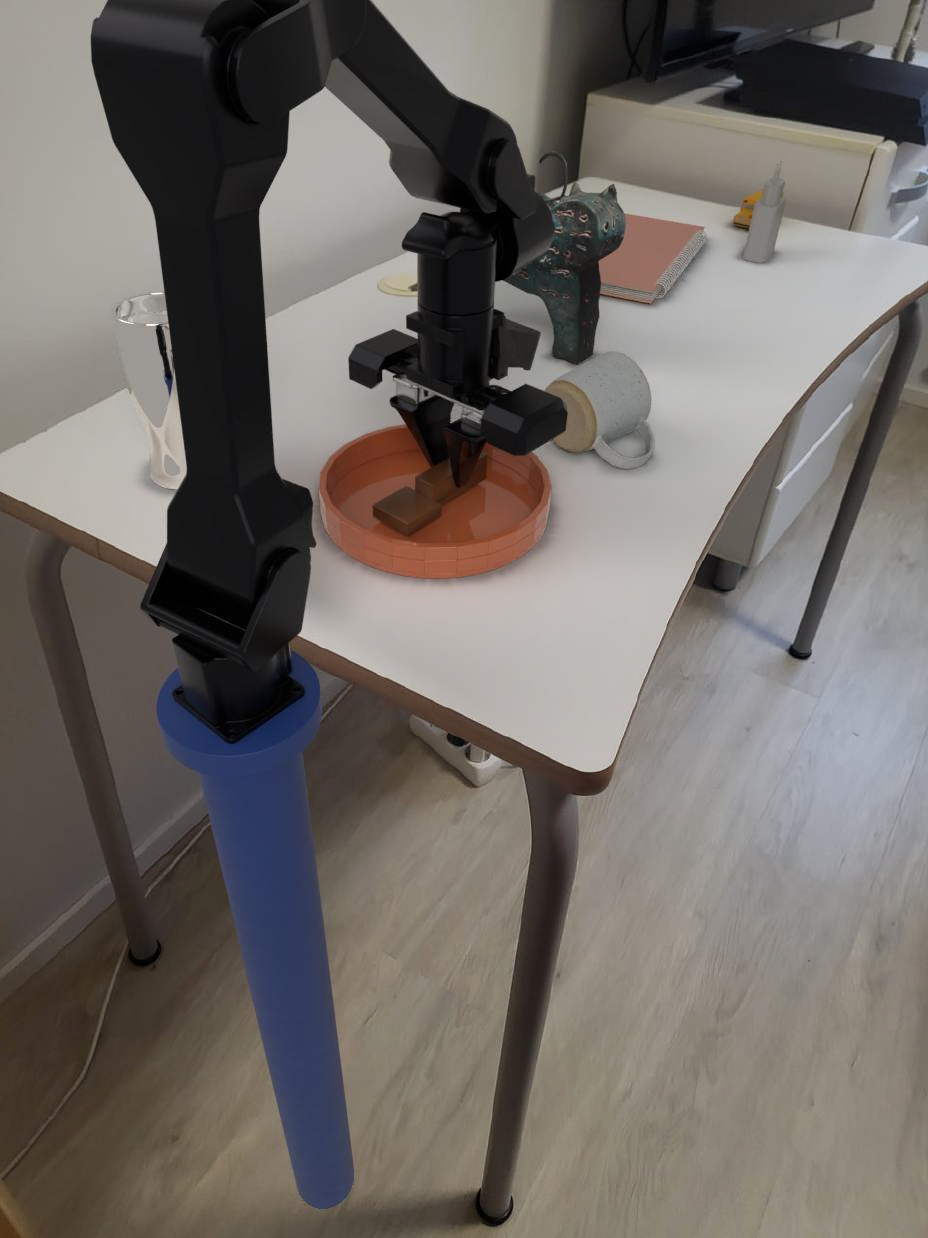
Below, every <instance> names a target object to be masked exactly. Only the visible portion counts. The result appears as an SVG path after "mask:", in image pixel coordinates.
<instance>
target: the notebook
mask: <svg viewBox="0 0 928 1238" xmlns="http://www.w3.org/2000/svg"><path fill="white" fill-rule="evenodd" d="M624 214H625V219H626V227H625V233H624V238H623V241H622V243H621V245H620V247H619V248H618V249H617V250H615V251H614V252H613V253H611V254H609V255H608V256H606V257H604V258H603V259H601V260H599V272H600V276H601V289H600V295H606V296H610V297H616V298H620V299H624V300H625V299H626V300H630V301H636V302H642V303H646V304H652V303H653V302H654V301H655V299H658V300H659V299H662V298H664V297H665V295H666V294H667V293H668V292H669V290H670V289H671V288H672V287H673V285H674V284H675V283H676V281H677V280H678V279H679V277H680V276H681V275H682V273H683V272H684V271H685V269H686V268H687V267H688V265H689V264H690V263H691V261H692V260H693V259H694V258H695V256H696V255H697V254H698V253H699V251H700V250H701V248H702V247H704V245H705V243H706V242H707V240H708V234H707V233H706V231H704V229H705V226H702V225H697V224H696V225H695V224H689V223H683V222H678V221H672V220H668V219H661V218H656V217H655V218H654V217H648V216H643V215H637V214H631V213H625V212H624Z"/></svg>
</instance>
